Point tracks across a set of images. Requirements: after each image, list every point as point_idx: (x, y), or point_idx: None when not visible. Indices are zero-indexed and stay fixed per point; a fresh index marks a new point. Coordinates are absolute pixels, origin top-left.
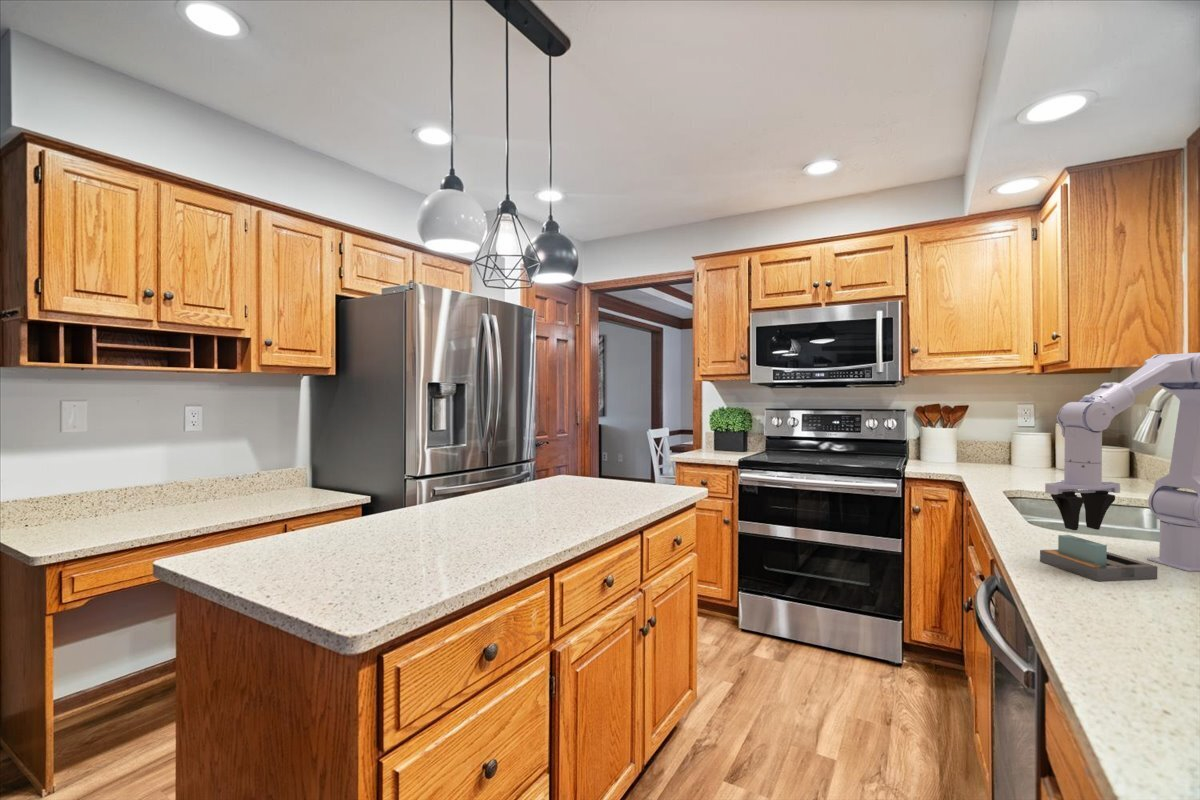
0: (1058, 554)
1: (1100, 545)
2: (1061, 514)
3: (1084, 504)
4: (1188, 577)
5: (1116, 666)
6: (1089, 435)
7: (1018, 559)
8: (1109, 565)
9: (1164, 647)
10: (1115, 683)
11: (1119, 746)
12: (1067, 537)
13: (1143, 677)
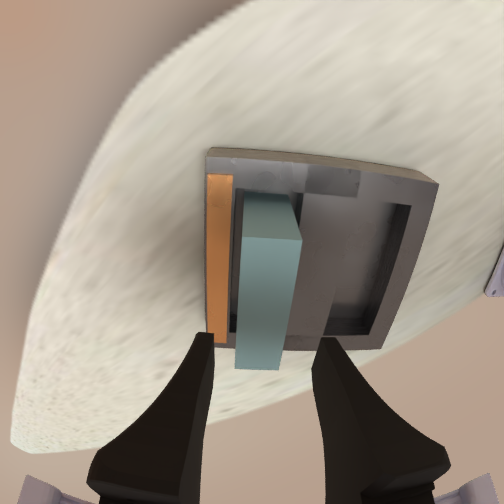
0: (206, 238)
1: (257, 368)
2: (173, 378)
3: (356, 422)
4: (447, 316)
5: (46, 429)
6: None
7: (164, 104)
8: None
9: (101, 436)
10: (35, 433)
11: (17, 441)
12: (244, 276)
13: (55, 438)
